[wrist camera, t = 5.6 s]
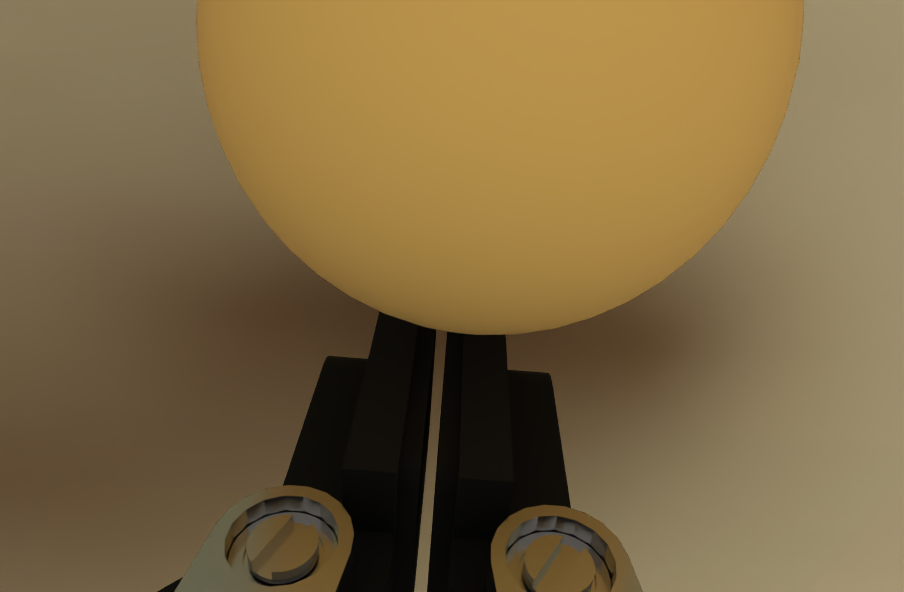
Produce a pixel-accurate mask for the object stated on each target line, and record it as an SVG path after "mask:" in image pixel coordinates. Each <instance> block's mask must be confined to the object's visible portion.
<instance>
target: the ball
mask: <svg viewBox="0 0 904 592" xmlns="http://www.w3.org/2000/svg"><path fill="white" fill-rule="evenodd" d="M803 21H804V2H803V0H198V2H197V16H196V25H197V40H198V55H199V66H200V71H201V76H202V81H203V86H204V91H205V96H206V101H207V106H208V109H209V112H210V114H211V117H212V120H213V123H214V126H215V129H216V132H217V135H218V138H219V141H220V144H221V147H222V149H223V151H224V153H225V155H226V157H227V159H228V161H229V163H230V165H231V167H232V169H233V171H234V173H235V175H236V177H237V179H238V181H239V183H240V185H241V187H242V188H243V190H244V191H245V193H246V194H247V196H248V197H249V199H250V200H251V202H252V203H253V205H254V206H255V208H256V209H257V211H258V212H259V214H260V215H261V217H262V218H263V220H264V221H265V222H266V223H267V224H268V225H269V227H270V228H271V229H272V230H273V231H274V232H275V234H276V235H277V236H278V237H279V238H280V239H281V240H282V242H283V243H284V244H285V245H286V246H287V247H288V249H290V250H291V251H292V252H293V253H294V254H295V255H296V256H297V257H299V258H300V259H301V260H302V261H303V262H304V263H305V264H306V265H308V266H309V267H310V268H311V269H312V270H313V271H314V272H315V273H317V274H318V275H319V276H321V277H322V278H324V279H325V280H326V281H328V282H329V283H331V284H332V285H334V286H335V287H337V288H338V289H340V290H341V291H343V292H344V293H346V294H347V295H349V296H350V297H352V298H354V299H356V300H358V301H360V302H362V303H364V304H366V305H368V306H370V307H372V308H374V309H376V310H378V311H380V312H382V313H384V314H387V315H390V316H393V317H396V318H399V319H402V320H405V321H408V322H411V323H414V324H417V325H420V326H423V327H428V328H432V329H437V330H443V331H449V332H455V333H463V334H473V335H503V334H522V333H529V332H535V331H542V330H548V329H555V328H558V327H562V326H565V325H569V324H572V323H576V322H579V321H582V320H586V319H589V318H592V317H595V316H597V315H599V314H601V313H604V312H606V311H608V310H610V309H613V308H615V307H617V306H620V305H622V304H624V303H626V302H628V301H630V300H632V299H633V298H635V297H637V296H638V295H640V294H642V293H643V292H645V291H646V290H648V289H650V288H651V287H653V286H655V285H656V284H658V283H660V282H661V281H663V280H664V279H665V278H666V277H668V276H669V275H670V274H672V273H673V272H674V271H675V270H677V269H678V268H679V267H680V266H682V265H683V264H684V263H685V262H687V261H688V260H689V259H690V258H692V257H693V256H694V255H695V254H696V253H697V252H698V251H699V250H700V249H701V248H702V247H703V246H704V245H705V244H706V243H707V242H708V241H709V240H710V239H711V238H712V237H713V236H714V235H715V234H716V232H717V231H718V230H719V229H720V228H721V227H722V226H723V225H724V224H725V222H726V221H727V220H728V218H729V217H730V216H731V214H732V213H733V212H734V210H735V209H736V208H737V206H738V205H739V204H740V202H741V201H742V200H743V198H744V197H745V196H746V194H747V193H748V192H749V190H750V188H751V186H752V185H753V183H754V181H755V179H756V178H757V176H758V174H759V172H760V171H761V169H762V167H763V165H764V163H765V162H766V160H767V158H768V156H769V155H770V152H771V150H772V147H773V145H774V142H775V140H776V137H777V135H778V132H779V130H780V127H781V125H782V122H783V120H784V117H785V114H786V111H787V107H788V103H789V99H790V95H791V91H792V87H793V83H794V79H795V75H796V71H797V67H798V63H799V59H800V50H801V40H802V30H803Z"/></svg>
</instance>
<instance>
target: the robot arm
mask: <svg viewBox="0 0 904 592" xmlns="http://www.w3.org/2000/svg"><path fill="white" fill-rule="evenodd" d="M435 340H436V329H432V328H428V327H423V326H420V325H417V324H414V323H411V322H408V321H405V320H402V319H399V318H396V317H393V316H390V315H387V314H384V313H382V312H379V316H378V320H377V325H376V329H375V333H374V337H373V341H372V345H371V349H370V354H369V358H368V359H361V358H348V357H335V356H328V357H327V358H326V360H325V362H324V364H323V367H322V370H321V373H320V376H319V379H318V382H317V385H316V388H315V391H314V394H313V397H312V400H311V403H310V406H309V409H308V412H307V415H306V418H305V421H304V424H303V427H302V430H301V433H300V436H299V439H298V442H297V445H296V448H295V451H294V454H293V457H292V460H291V463H290V466H289V469H288V472H287V475H286V478H285V481H284V484H283V486H279V487H273V488H267V489H264V490H262V491H259V492H257V493H254V494H251V495H249V496H247V497H245V498H244V499H242V500H241V501H239V502H238V503H237V504H235V505H234V506H232V507H231V508H229V509H228V511H227V512H226V513H225V514H224V515H223V517H222V518H221V519H220V520H219V521H218V522H217V524H216V525H215V527H214V528H213V530H212V531H211V533H210V535H209V536H208V538H207V540H206V541H205V543H204V544H203V546H202V548H201V549H200V551H199V553H198V554H197V556H196V557H195V559H194V561H193V562H192V564H191V565H190V567H189V569H188V570H187V572H186V574H185V575H184V577H182V578H180V579H179V580H177V581H175V582H173V583H172V584H170V585H168V586H166V587H165V588H163V589H161V590H159V591H158V592H414V588H415V577H416V567H417V556H418V546H419V535H420V525H421V514H422V503H423V493H424V482H425V472H426V461H427V451H428V439H429V426H430V412H431V398H432V383H433V369H434V355H435ZM427 592H643V591H642V589H641V586H640V584H639V581H638V579H637V576H636V574H635V571H634V569H633V566H632V564H631V561H630V559H629V556H628V554H627V553H626V551H625V549H624V548H623V546H622V544H621V542H620V541H619V539H618V538H617V537H616V536H615V535H614V534H613V533H612V532H611V531H610V530H609V529H608V528H607V527H606V526H605V525H604V524H603V523H601V522H599V521H598V520H596V519H594V518H593V517H591V516H589V515H587V514H586V513H584V512H580V511H577V510H574V509H571V506H570V499H569V492H568V486H567V479H566V472H565V466H564V459H563V452H562V445H561V439H560V432H559V425H558V418H557V412H556V405H555V398H554V391H553V385H552V380H551V375H550V374H549V373H541V372H528V371H515V370H507V353H506V336H505V334H503V335H473V334H463V333H455V332H449V331H447V342H446V354H445V367H444V380H443V392H442V405H441V417H440V430H439V443H438V456H437V469H436V482H435V495H434V508H433V521H432V535H431V548H430V561H429V574H428V587H427Z"/></svg>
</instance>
